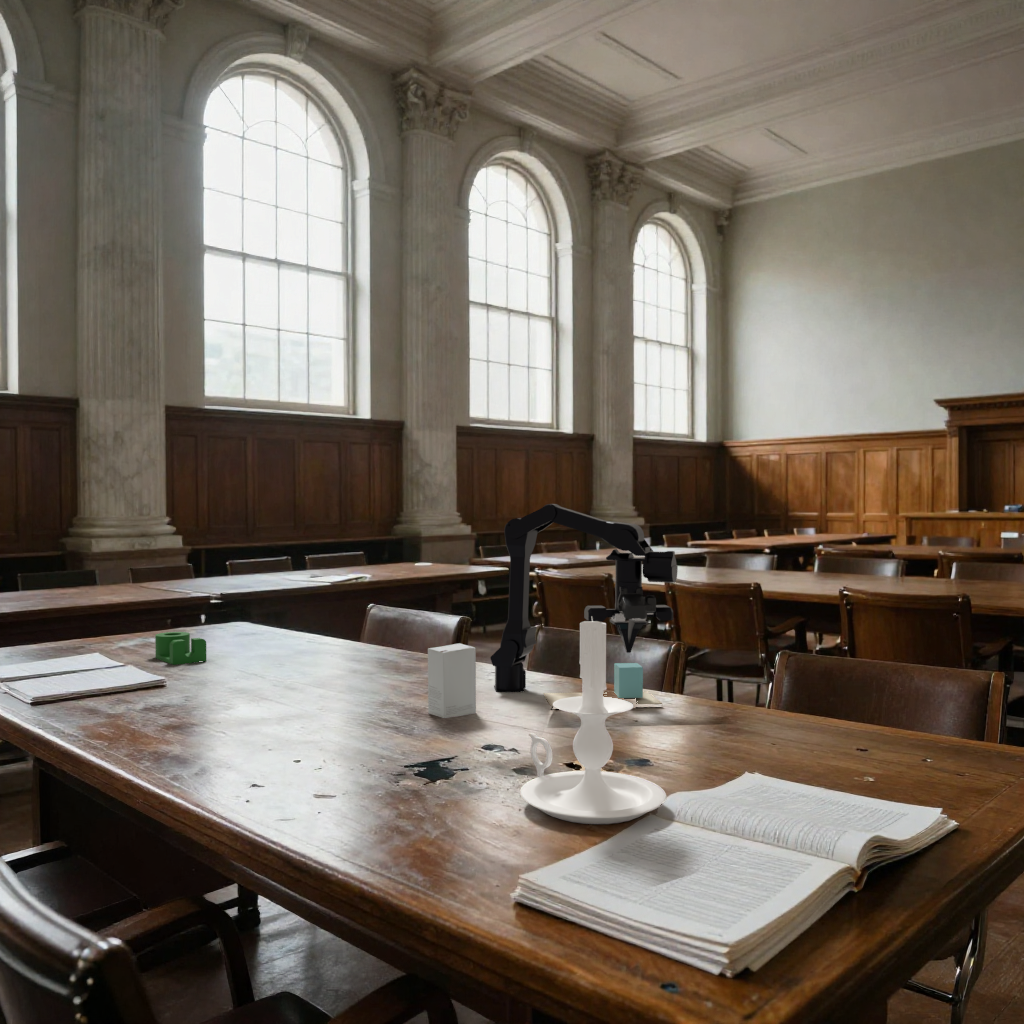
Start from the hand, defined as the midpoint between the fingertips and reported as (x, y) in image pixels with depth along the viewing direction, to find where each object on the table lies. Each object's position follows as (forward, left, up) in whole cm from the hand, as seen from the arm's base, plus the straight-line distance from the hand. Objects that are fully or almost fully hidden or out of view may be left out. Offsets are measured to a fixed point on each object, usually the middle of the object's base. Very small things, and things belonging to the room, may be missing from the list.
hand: (628, 652), depth 203 cm
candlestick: (-22, -68, -11) cm, 73 cm away
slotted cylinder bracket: (-112, +64, -11) cm, 129 cm away
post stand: (-6, 0, -11) cm, 12 cm away
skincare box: (-39, -13, -11) cm, 43 cm away
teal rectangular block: (0, 0, -9) cm, 9 cm away
